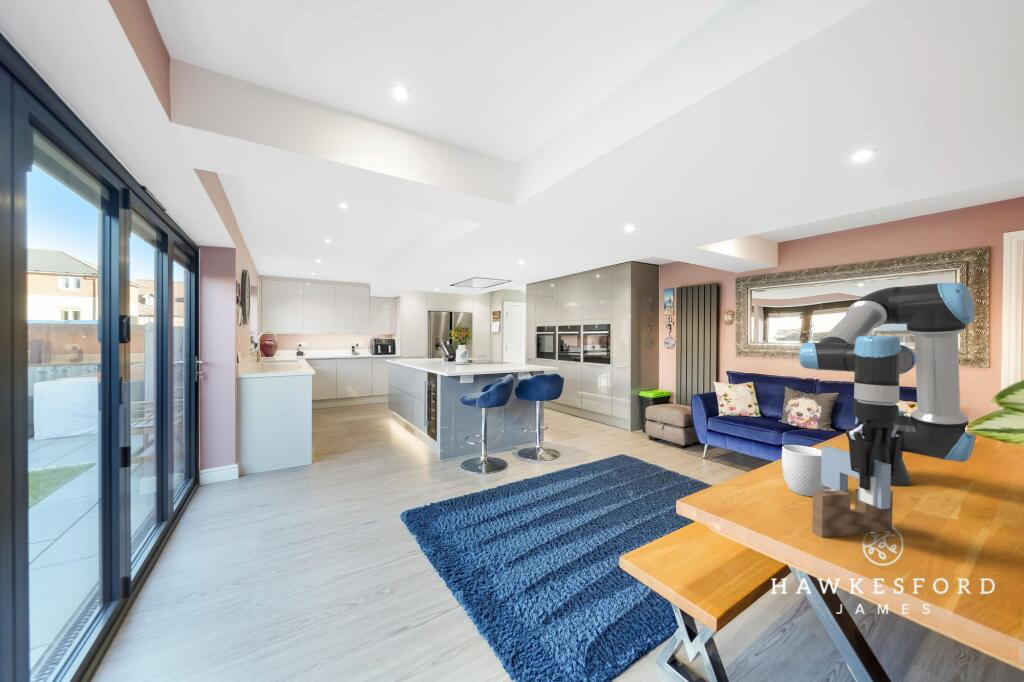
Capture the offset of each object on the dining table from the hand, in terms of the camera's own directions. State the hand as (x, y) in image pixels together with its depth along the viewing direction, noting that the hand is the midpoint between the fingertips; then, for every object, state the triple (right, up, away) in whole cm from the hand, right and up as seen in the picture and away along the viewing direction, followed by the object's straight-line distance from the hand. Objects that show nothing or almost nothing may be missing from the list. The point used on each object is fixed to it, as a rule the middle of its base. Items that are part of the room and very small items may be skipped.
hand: (873, 502), depth 86 cm
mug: (+6, -9, +27) cm, 29 cm away
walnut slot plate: (-1, -9, +5) cm, 10 cm away
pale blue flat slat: (-1, 0, +5) cm, 5 cm away
